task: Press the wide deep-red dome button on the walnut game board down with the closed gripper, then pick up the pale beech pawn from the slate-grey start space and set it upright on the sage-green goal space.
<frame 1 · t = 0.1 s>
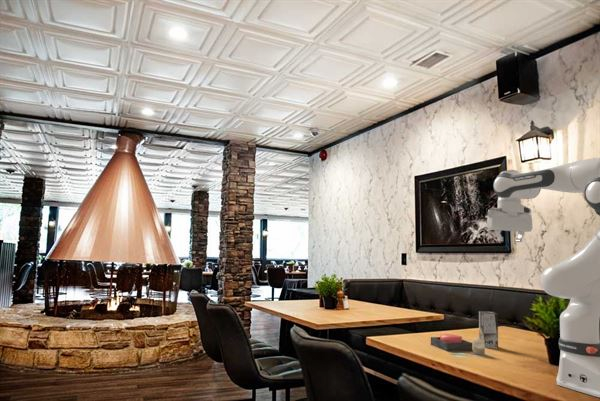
hand: (509, 241, 174), 48 cm above the table, fingers open, 8 cm apart
dome: (451, 340, 183), point 4 cm above the table, slide at 0.0 cm
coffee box: (488, 348, 189), on the table
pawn: (478, 354, 172), point 1 cm above the table, touching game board
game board: (459, 353, 177), on the table
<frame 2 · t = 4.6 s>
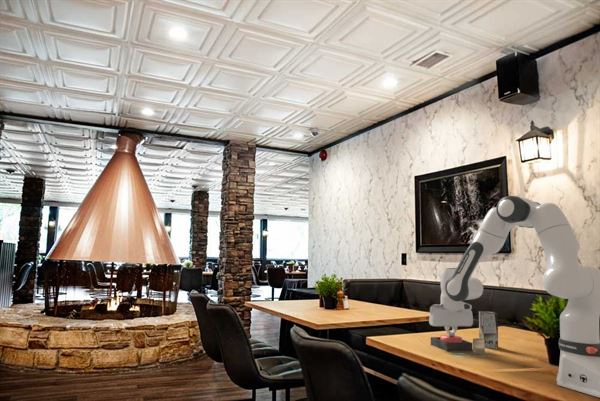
hand: (450, 336, 183), 6 cm above the table, fingers closed, pressing on dome
dome: (451, 341, 183), point 4 cm above the table, slide at 0.3 cm, touching gripper
everything else where it was.
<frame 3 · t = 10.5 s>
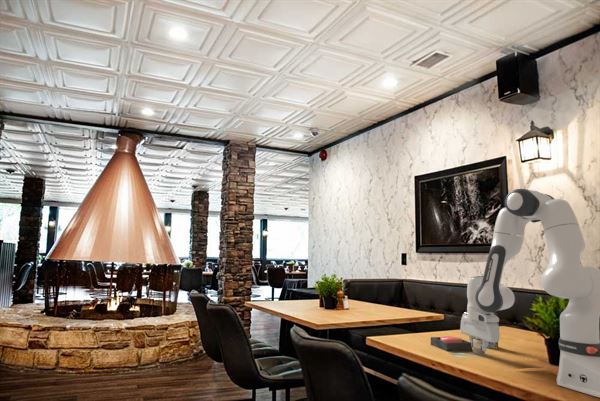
hand: (478, 349, 172), 3 cm above the table, fingers closed on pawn, 4 cm apart
dome: (451, 343, 183), point 3 cm above the table, slide at 1.0 cm
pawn: (478, 354, 172), point 1 cm above the table, touching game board, gripper
everything else where it was.
when the fingers open (5 cm above the table, at t = 16.3 s): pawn drops 1 cm, resting on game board.
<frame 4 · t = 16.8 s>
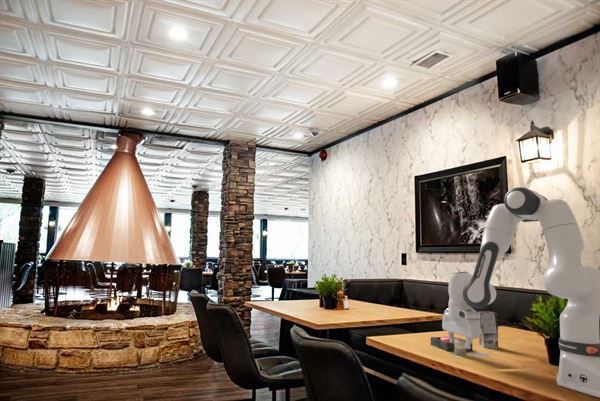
hand: (460, 345, 170), 5 cm above the table, fingers open, 8 cm apart
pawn: (460, 354, 169), point 1 cm above the table, touching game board
everything else where it was.
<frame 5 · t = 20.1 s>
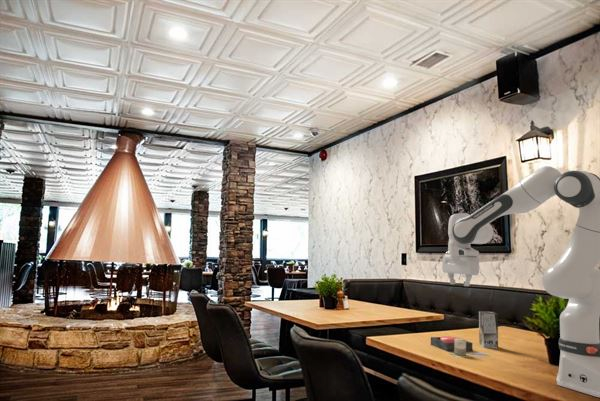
hand: (459, 285, 173), 29 cm above the table, fingers open, 8 cm apart
nothing on the table moved.
at the end: dome slide at 1.0 cm; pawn 0.1 cm from the target spot, point 1.0 cm above the table; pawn tilted 0° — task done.
